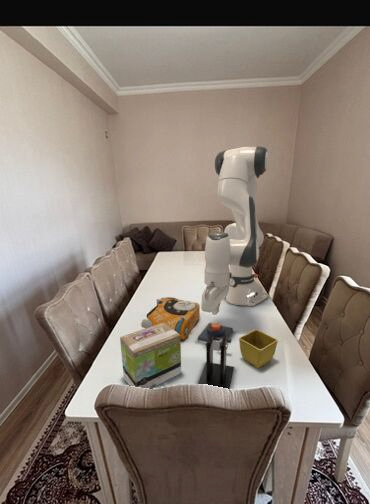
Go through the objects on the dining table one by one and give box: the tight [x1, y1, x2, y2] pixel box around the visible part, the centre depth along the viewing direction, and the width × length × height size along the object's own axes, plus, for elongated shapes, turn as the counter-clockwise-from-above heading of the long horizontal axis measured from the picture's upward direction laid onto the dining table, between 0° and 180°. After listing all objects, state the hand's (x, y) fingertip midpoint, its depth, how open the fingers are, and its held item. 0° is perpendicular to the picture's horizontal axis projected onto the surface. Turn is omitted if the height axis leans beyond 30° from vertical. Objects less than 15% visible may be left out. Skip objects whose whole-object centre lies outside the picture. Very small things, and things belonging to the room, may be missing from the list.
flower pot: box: [238, 328, 279, 369], centre depth 80 cm, size 9×9×9 cm
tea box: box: [119, 322, 182, 389], centre depth 74 cm, size 15×10×15 cm
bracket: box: [197, 335, 235, 390], centre depth 73 cm, size 12×9×14 cm
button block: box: [197, 322, 234, 343], centre depth 96 cm, size 12×10×4 cm
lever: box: [212, 337, 232, 352], centre depth 77 cm, size 15×5×2 cm, turn 162°
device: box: [140, 296, 201, 341], centre depth 108 cm, size 23×8×30 cm
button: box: [211, 322, 222, 331], centre depth 96 cm, size 4×4×2 cm
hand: (215, 313), depth 94 cm, fingers closed
